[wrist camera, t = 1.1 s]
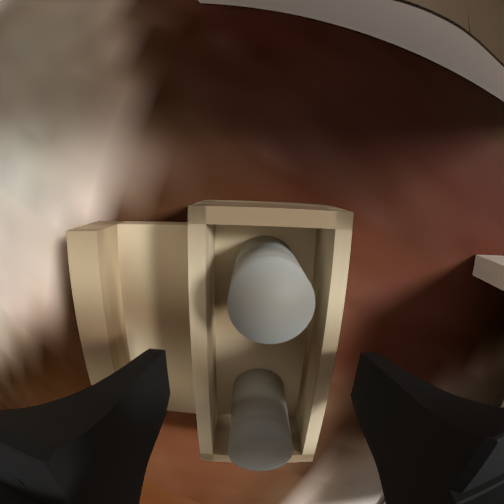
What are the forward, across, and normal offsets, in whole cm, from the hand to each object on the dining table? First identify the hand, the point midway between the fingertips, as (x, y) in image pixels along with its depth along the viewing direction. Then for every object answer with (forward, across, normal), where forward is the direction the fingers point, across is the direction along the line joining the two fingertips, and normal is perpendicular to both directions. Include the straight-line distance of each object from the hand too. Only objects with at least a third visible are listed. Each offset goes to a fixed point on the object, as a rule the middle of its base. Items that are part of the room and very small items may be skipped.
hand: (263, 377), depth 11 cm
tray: (+4, +3, 0) cm, 5 cm away
